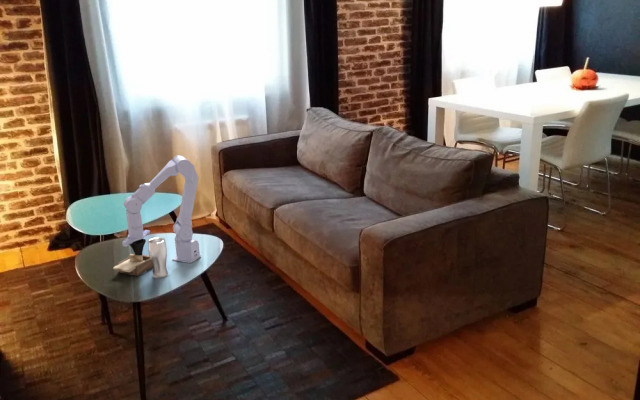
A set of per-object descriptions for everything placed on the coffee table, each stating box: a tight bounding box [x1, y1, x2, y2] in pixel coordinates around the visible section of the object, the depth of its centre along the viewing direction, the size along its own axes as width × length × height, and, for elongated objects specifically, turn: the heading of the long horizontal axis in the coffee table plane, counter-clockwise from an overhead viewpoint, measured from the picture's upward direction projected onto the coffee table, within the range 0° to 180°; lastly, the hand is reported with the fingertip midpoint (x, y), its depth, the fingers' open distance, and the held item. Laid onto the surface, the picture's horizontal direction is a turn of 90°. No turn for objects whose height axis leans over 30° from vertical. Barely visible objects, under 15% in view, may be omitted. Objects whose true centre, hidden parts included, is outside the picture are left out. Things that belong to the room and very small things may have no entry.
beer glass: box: [147, 236, 169, 279], centre depth 241 cm, size 7×7×15 cm
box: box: [117, 254, 153, 277], centre depth 249 cm, size 10×11×4 cm
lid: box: [112, 253, 144, 272], centre depth 245 cm, size 8×10×3 cm
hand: (138, 256), depth 250 cm, fingers closed
